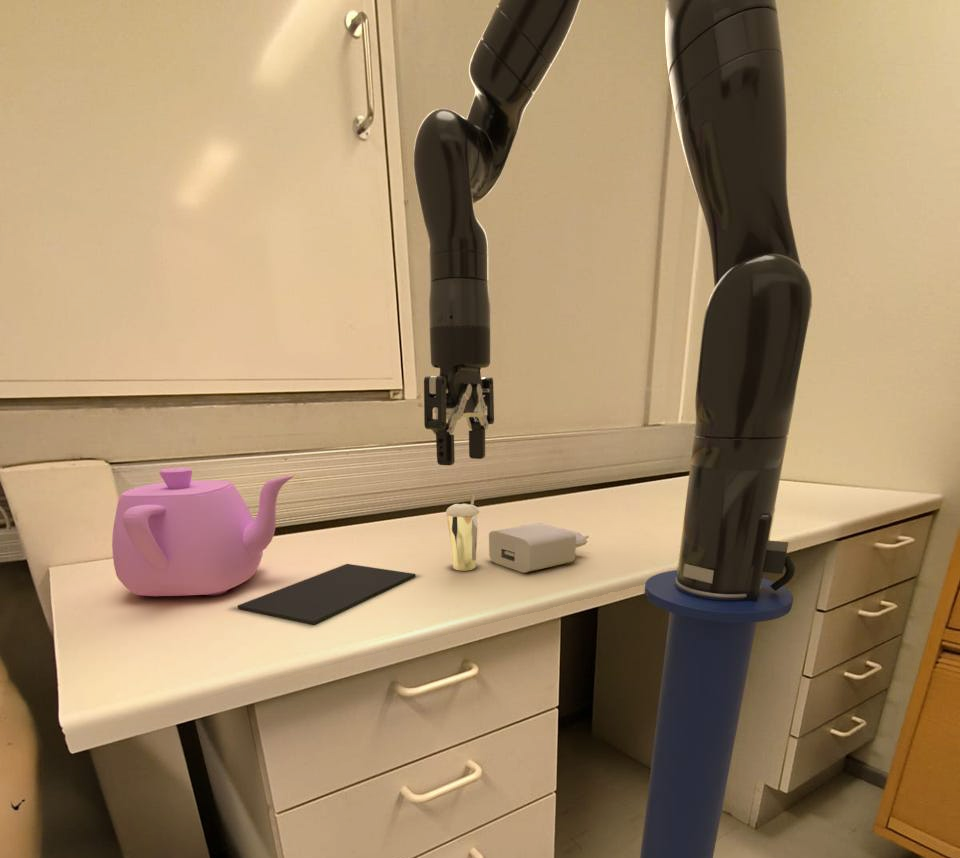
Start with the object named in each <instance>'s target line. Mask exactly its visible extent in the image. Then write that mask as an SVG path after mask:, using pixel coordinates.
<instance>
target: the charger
mask: <svg viewBox="0 0 960 858" xmlns="http://www.w3.org/2000/svg"><path fill="white" fill-rule="evenodd" d="M589 538H590V537H589V535H583V534H582V533H581V532H579V531H576V530H571V529H566V528H562V527H558V526H555V525H550V524H547V523H542V522H537V523H531V524H526V525H520V526H514V527H509V528H503V529H498V530H491V531H490V532H489V533H488V557H489V559H490V560H491V562H493V563H494V564H497V565H500V566H503V567H505V568H508V569H511V570H514V571H517V572H519V573H524V574H526V573H529V572H534V571H538V570H542V569H547V568H552V567H556V566H560V565H564V564H569V563H573V562H574V561H575V560H576V550H577V549H576V548H580V547H583V546H585V545H586V544H587V543H588V540H587V539H589Z"/></svg>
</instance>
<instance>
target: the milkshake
mask: <svg viewBox="0 0 960 858" xmlns="http://www.w3.org/2000/svg"><path fill="white" fill-rule="evenodd" d="M475 498H476V494H475V493H472V495H471V500H470V504H469V503H454V504H452V505H450V506H448V507H447V509H446V510H445V511H446V512H445V513H446V520H447V527H448V528H447V529H448V533H449V538H450V539H449V540H450V549H451V560H452V568H453V570H456V571H459V572H460V571H462V572H464V571H465V572H466V571H467V572H468V571H472V570H474V569H476V563H477V545H478V544H477V543H478V533H479V519H480V510H479V508H478V507H477V506H476V505H474V504H475Z"/></svg>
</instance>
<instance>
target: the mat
mask: <svg viewBox="0 0 960 858" xmlns="http://www.w3.org/2000/svg"><path fill="white" fill-rule="evenodd" d="M413 578H416V573H412V572H405V571H397V570H391V569H385V568H379V567H372V566H365V565H358V564H351V563H345V564H343V565H340V566H338V567H335V568H332V569H330V570H327V571H325V572H321V573H319V574H317V575H314V576H312V577H309V578H306V579H304V580H301V581H298V582H296V583H293V584H291V585H288V586H285V587H282V588H280V589H277V590H275V591H272V592H269V593H266V594H264V595H261V596H260V597H256V598H253V599H251V600H248V601H246V602H243V603H241V604H237V609H239V610H243V611H248V612H252V613H257V614H262V615H267V616H271V617H277V618H280V619H281V618H282V619H285V620H290V621H294V622H298V623H299V622H300V623H305V624H309V625H313V626H314V625H316V624H319V623H321V622H323V621H325V620H328V619H330V618H332V617H333V616H336V615H338V614H340V613H342V612H344V611H346V610H348V609H350V608H352V607H355V606H356V605H359V604H361V603H363V602H366V601H367V600H369V599H372V598H374V597H376V596H378V595H381V594H382V593H383V592H387V591H388V590H390V589H392V588H394V587H396V586H399V585H401V584H403V583H405V582H407V581H410V580H411V579H413Z"/></svg>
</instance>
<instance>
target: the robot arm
mask: <svg viewBox="0 0 960 858" xmlns="http://www.w3.org/2000/svg"><path fill="white" fill-rule="evenodd" d="M580 3H581V0H499V1H498V4H497V6H496V7H495V9H494V11H493V13H492V15H491V17H490V19H489V21H488V23H487V25H486V27H485V29H484V31H483V32H482V35H481V38H479V41H478V43H477V44H476V47H475V49H474V51H473V54H472V56H471V58H470V62H469V64H468V65H469V67H468V74H469V78H470V81H471V84H472V85H473V87H474V96H473V99H472V101H471V105H470V108H469V111H468V114H467V117H466V118H465V117H464V116H463V115H461V114H460V113H458V112H456V111H454V110H452V109H449V108H438V109H434V110H432V111H431V112H430V113H428V114H427V115H426V117H424V118H423V120H422V122H421V124H420V126H419V128H418V131H417V133H416V136H415V141H414V147H413V173H414V180H415V186H416V191H417V196H418V201H419V205H420V210H421V214H422V215H421V216H422V219H423V224H424V228H425V230H426V234H427V239H428V259H429V297H428V317H429V319H428V322H429V348H430V364H431V366H432V367H433V368H434V369H439V375H427V376H424V379H423V403H424V405H423V416H424V417H423V421H424V422H423V425H424V429H425V430H431V431H432V433H433V434H434V435H435V444H436V445H435V446H436V463H437V464H438V465H439V466H453V465H454V464H455V462H456V460H455V434H454V432H455V429H456V428H455V427H456V425H457V422H458V421H459V420H461V419H462V417H463V418H465V420H466V423H467V426H468V427H469V429H470V430H468V456H469V458H470V459H473V460H482V459H484V458H486V431H487V430H488V428H489V426H490V425H493V424H494V423H495V396H494V392H495V391H494V378H493V377H487V376H485V377H483V376H482V373H481V369H484V368H488V367H489V366H490V364H491V301H490V300H491V299H490V289H489V244H488V243H489V241H488V236H487V233H486V230H485V228H484V227H483V226H482V224H481V223H480V222H479V220H478V218H477V217H476V214H475V208H474V204H477V203H479V202H480V201H482V200H483V199H484V198H485V197H486V196H488V194H489V193H490V192H492V189H493V188H494V187H495V186H496V184H497V182H498V181H499V179H500V177H501V176H502V173H503V171H504V169H505V167H506V163H507V162H508V159H509V156H510V153H511V151H512V148H513V145H514V142H515V139H516V137H517V134H518V131H519V128H520V127H521V126H520V124H521V122H522V120H523V119H522V118H523V116H524V113H525V111H526V108H527V106H528V105H529V104H530V102H531V100H532V99H533V98H534V94H536V92H537V91H538V89H539V87H540V85H541V84H542V82H543V80H544V79H545V77H546V75H547V74H548V72H549V70H550V68H551V67H552V65H553V63H554V61H555V59H556V58H557V57H558V54H559V53H560V51H561V49H562V47H563V45H564V43H565V41H566V39H567V36H568V34H569V32H570V30H571V27H572V26H573V25H572V24H573V23H574V20H575V17H576V15H577V12H578V9H579V6H580ZM664 11H665V15H664V18H665V21H664V31H665V32H664V34H665V35H664V36H665V55H666V63H667V71H668V78H669V84H670V91H671V97H672V103H673V110H674V115H675V121H676V125H677V130H678V134H679V139H680V143H681V147H682V151H683V155H684V158H685V162H686V166H687V169H688V173H689V175H690V178H691V182H692V185H693V188H694V192H695V195H696V197H697V199H698V200H697V201H698V203H699V206H700V209H701V212H702V214H703V218H704V221H705V225H706V229H707V234H708V239H709V245H710V253H711V263H712V271H713V272H712V274H713V290H712V292H711V293H710V296H709V299H708V300H707V301H708V302H707V305H706V308H705V313H704V317H703V322H702V323H703V324H702V332H701V340H700V349H699V358H698V359H699V360H698V369H697V377H696V378H697V379H696V388H695V397H694V398H695V399H694V400H695V401H694V405H695V406H694V407H695V408H694V409H695V423H694V425H695V426H694V434H693V440H692V441H693V442H692V448H691V449H692V450H691V458H690V459H691V460H690V464H689V465H690V466H689V473H688V474H689V475H688V482H687V488H686V489H687V490H686V498H685V507H684V514H683V515H684V516H683V523H682V532H681V538H680V547H679V555H678V563H677V568H676V570H677V577H676V580H675V587H676V588H677V589H678V590H679V591H681V592H682V593H685V594H687V595H690V596H693V597H697V598H701V599H707V600H714V601H753V602H757V600H758V596H759V595H760V591H761V584H762V579H764V573H768V574H769V573H770V574H778V575H782V577H780V578H778V579H777V580H775V581H773V582H774V583H773V584H772V585H771V588H772V589H773V590H775V591H777V590H778V589H779V588H780V587H782V586H783V587H784V586H785V585H786V584H788V583H789V582H790V581H791V580H792V579H793V578H794V575H795V573H796V567H795V565H794V564H795V563H794V562H793V559H791V556H790V555H787V553H788V548H789V541H782V540H781V541H780V540H771V535H772V530H773V529H772V528H773V524H774V519H775V512H776V502H777V498H778V491H779V488H780V487H779V486H780V480H781V475H782V470H783V464H784V459H785V453H786V447H787V442H788V436H789V433H790V427H791V424H792V423H791V421H792V418H793V412H794V405H795V399H796V394H797V387H798V380H799V375H800V370H801V369H800V368H801V364H802V359H803V353H804V349H805V348H804V347H805V343H806V338H807V332H808V327H809V321H810V319H811V315H812V314H811V313H812V307H813V302H812V301H813V291H812V285H811V283H810V278H809V276H808V275H807V273H806V271H805V270H804V269H803V267H802V264H801V260H800V256H799V252H798V248H797V243H796V239H795V234H794V230H793V225H792V220H791V213H790V208H789V207H790V206H789V199H788V181H787V177H788V176H787V173H788V172H787V169H788V166H787V165H788V164H787V163H788V161H787V160H788V159H787V158H788V147H787V145H788V135H787V134H788V132H787V131H788V129H787V127H788V126H787V99H786V98H787V97H786V96H787V95H786V79H785V67H784V66H785V65H784V64H785V63H784V57H783V46H782V40H781V31H780V23H779V16H778V14H779V13H778V8H777V1H776V0H665V10H664ZM433 413H434V414H435V418H434V414H433ZM784 569H785V571H784Z"/></svg>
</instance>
